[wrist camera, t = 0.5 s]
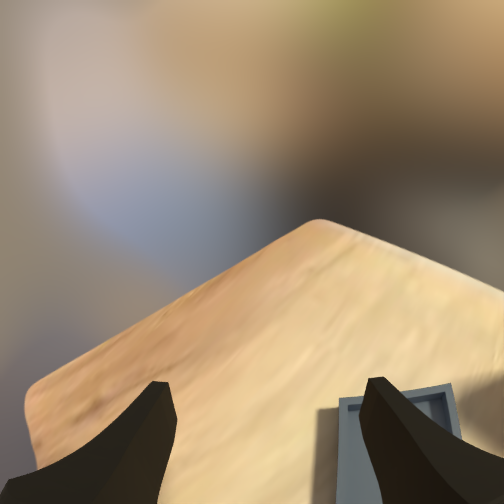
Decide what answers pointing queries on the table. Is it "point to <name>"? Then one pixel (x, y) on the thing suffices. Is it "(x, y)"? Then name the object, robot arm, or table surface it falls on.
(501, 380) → the table surface
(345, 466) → the tray
